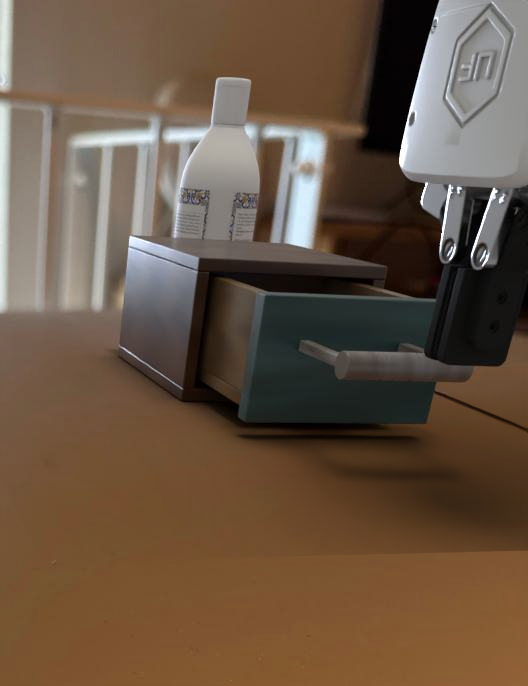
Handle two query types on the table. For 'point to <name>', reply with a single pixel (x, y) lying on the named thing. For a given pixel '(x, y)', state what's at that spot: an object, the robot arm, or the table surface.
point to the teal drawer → (319, 350)
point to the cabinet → (202, 298)
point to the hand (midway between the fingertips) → (463, 361)
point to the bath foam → (221, 173)
